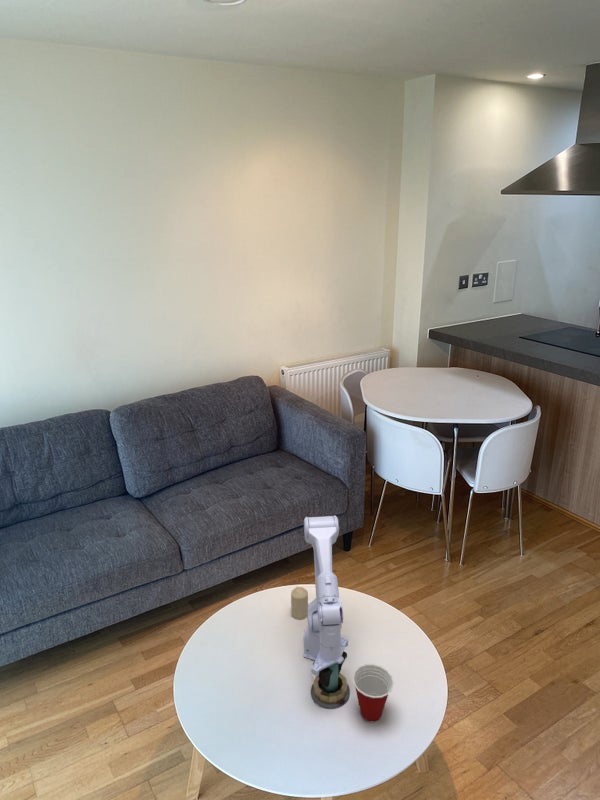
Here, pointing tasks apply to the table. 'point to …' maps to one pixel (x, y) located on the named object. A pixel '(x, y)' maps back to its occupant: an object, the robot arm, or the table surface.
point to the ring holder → (330, 694)
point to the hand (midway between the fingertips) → (330, 679)
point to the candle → (299, 603)
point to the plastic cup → (372, 690)
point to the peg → (332, 679)
